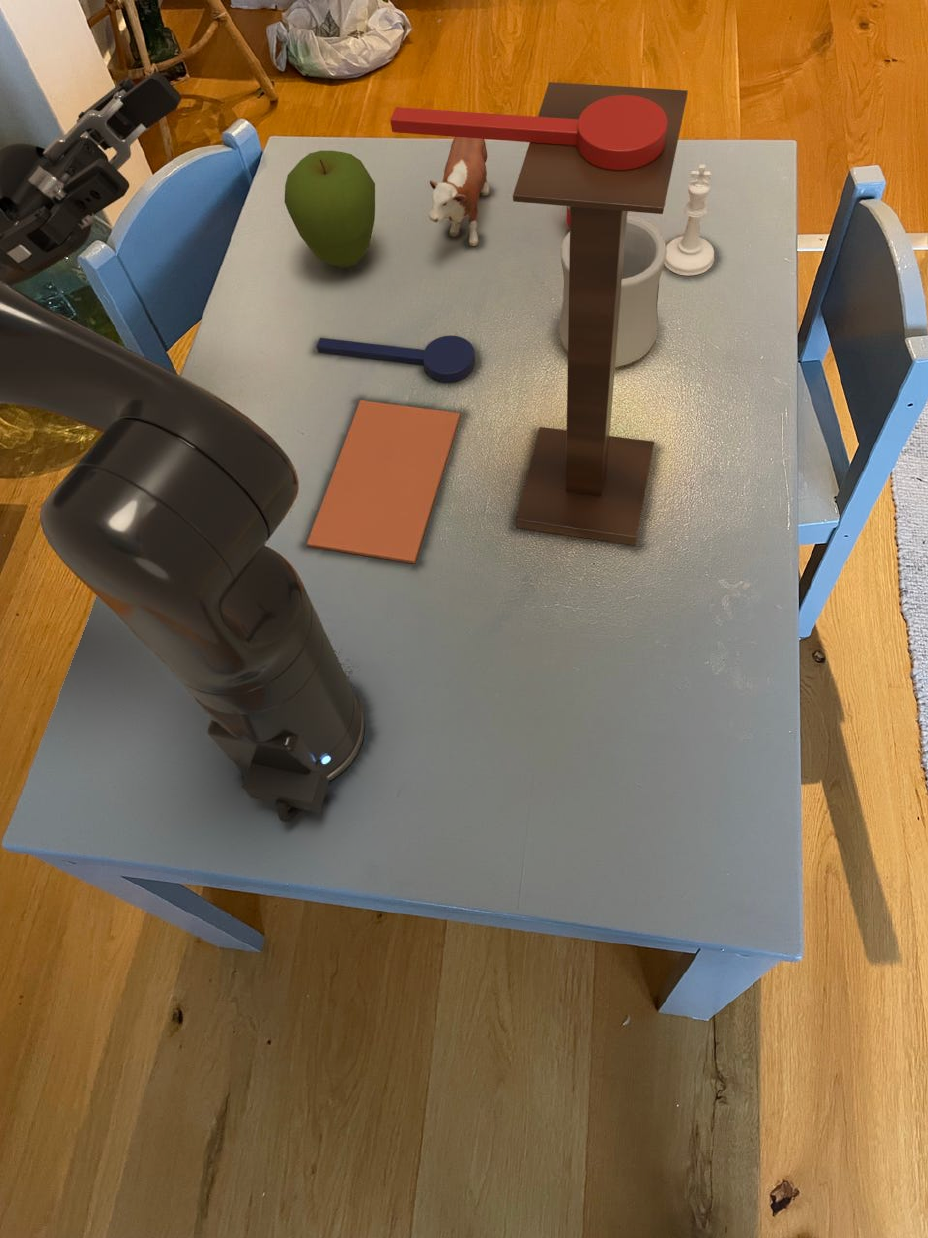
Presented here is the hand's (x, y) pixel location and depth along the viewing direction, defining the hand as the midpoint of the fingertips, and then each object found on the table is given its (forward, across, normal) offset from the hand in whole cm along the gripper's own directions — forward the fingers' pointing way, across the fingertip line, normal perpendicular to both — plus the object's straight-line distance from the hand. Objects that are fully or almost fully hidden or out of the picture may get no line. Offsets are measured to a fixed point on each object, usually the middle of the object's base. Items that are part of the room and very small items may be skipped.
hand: (143, 129), depth 58 cm
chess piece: (+14, +29, +44) cm, 54 cm away
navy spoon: (-8, +12, +31) cm, 34 cm away
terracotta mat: (-6, -2, +32) cm, 33 cm away
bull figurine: (-6, +31, +32) cm, 45 cm away
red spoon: (+22, 0, +11) cm, 24 cm away
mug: (+8, +19, +40) cm, 45 cm away
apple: (-16, +24, +26) cm, 39 cm away
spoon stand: (+9, 0, +41) cm, 42 cm away
